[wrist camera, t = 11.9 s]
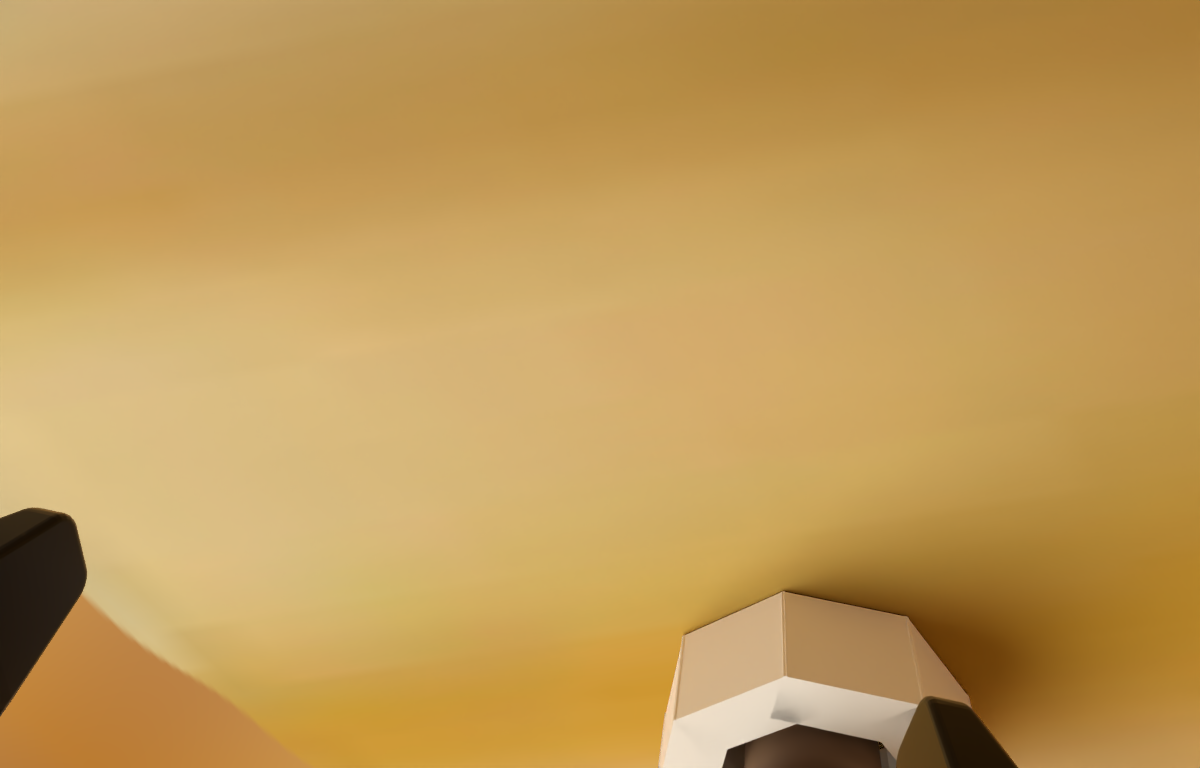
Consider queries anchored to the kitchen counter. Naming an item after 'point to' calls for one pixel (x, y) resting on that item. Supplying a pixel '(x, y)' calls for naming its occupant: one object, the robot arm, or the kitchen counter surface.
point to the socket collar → (798, 679)
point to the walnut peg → (811, 750)
